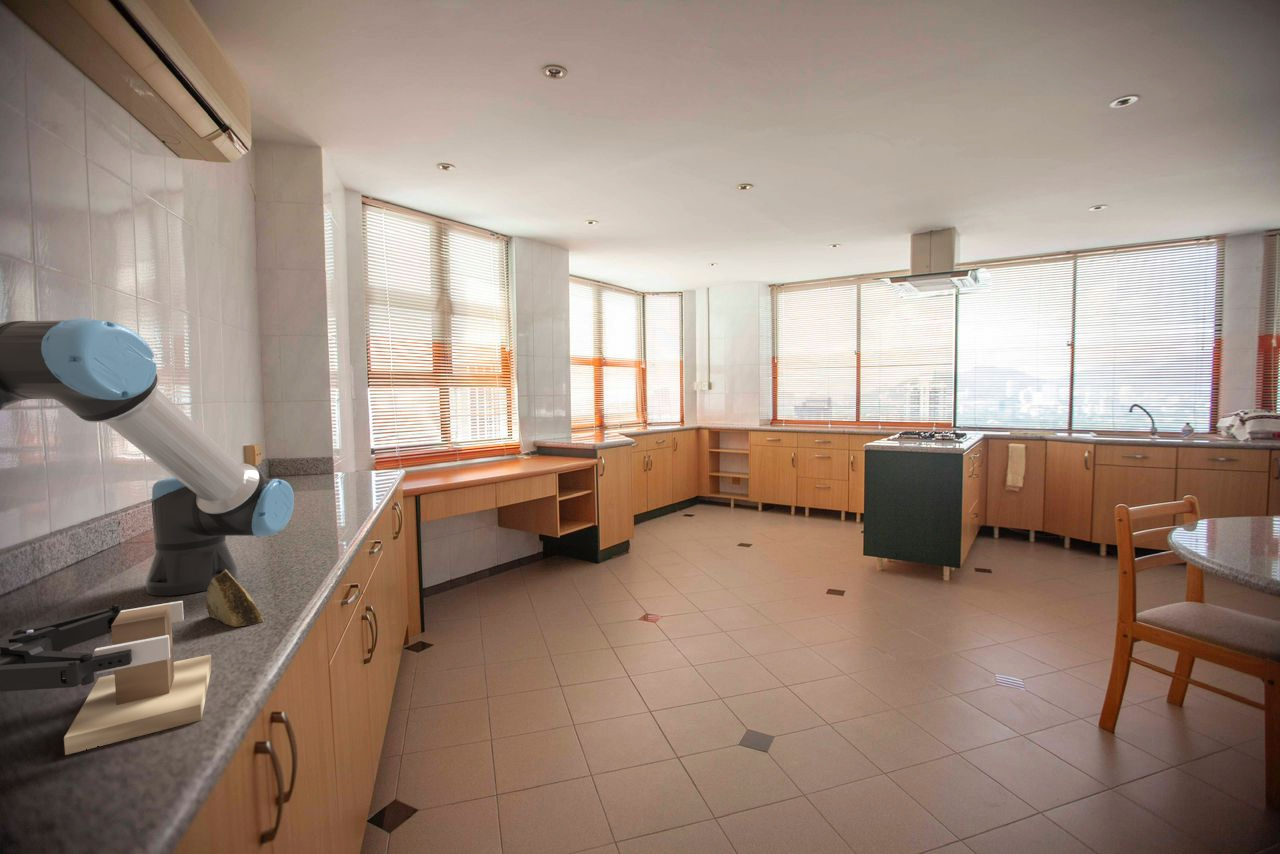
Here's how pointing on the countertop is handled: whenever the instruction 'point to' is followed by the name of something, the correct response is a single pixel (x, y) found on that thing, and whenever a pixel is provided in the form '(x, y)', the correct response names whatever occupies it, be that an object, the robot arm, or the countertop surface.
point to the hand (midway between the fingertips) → (177, 627)
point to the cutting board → (140, 708)
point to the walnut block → (151, 675)
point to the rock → (231, 602)
